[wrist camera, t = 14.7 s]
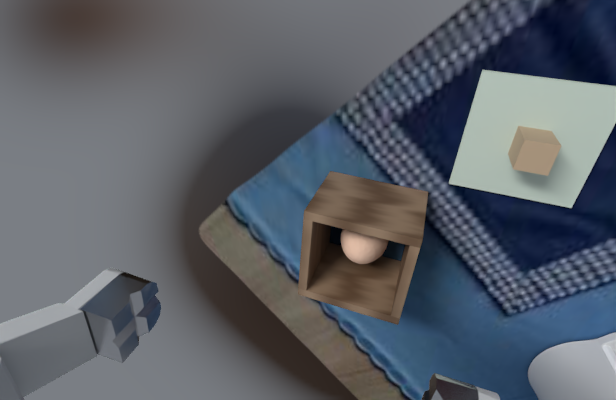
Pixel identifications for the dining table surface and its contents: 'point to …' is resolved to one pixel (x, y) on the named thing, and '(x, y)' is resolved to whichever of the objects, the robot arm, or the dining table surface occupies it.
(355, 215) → the box
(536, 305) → the dining table surface
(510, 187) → the lid
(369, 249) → the egg
